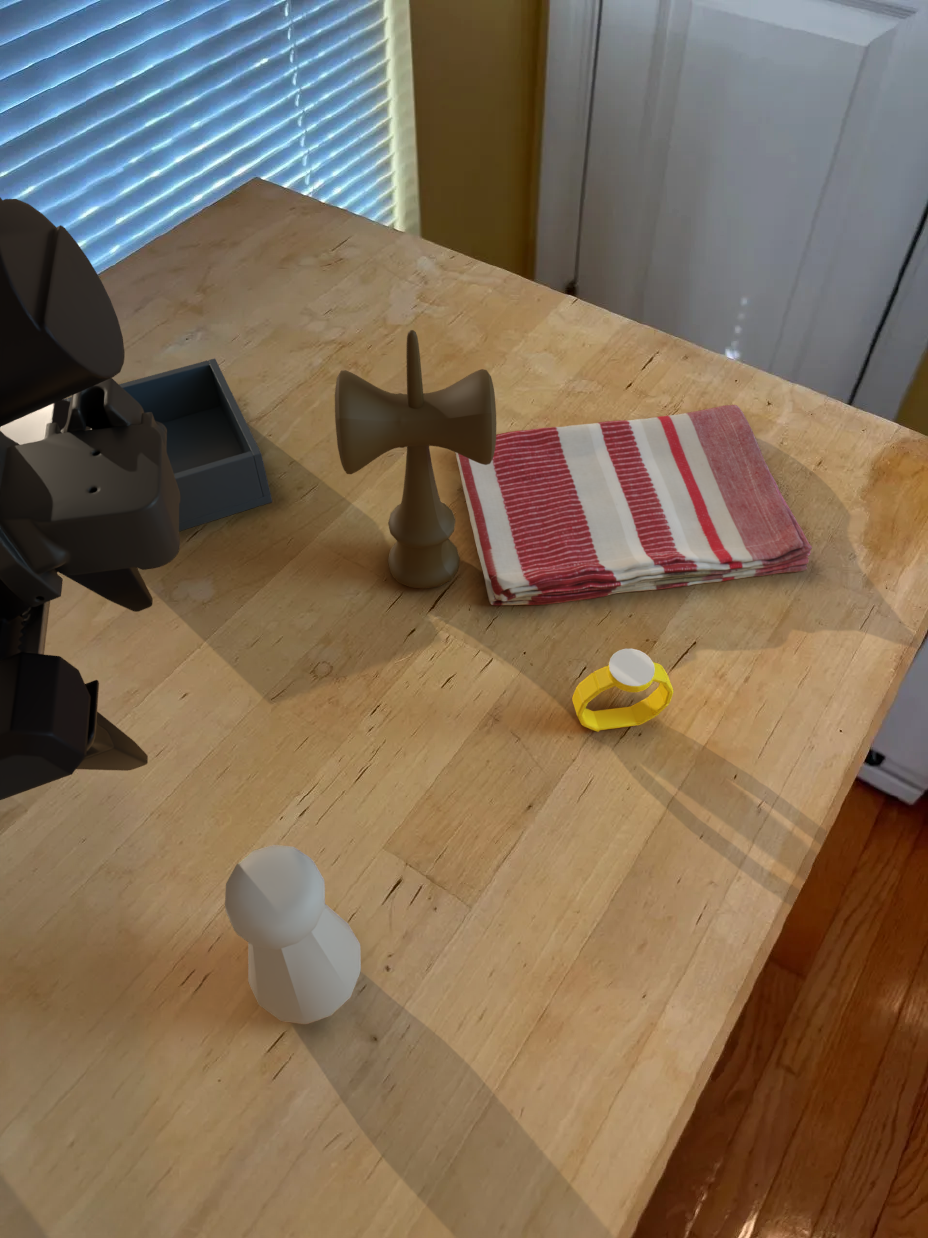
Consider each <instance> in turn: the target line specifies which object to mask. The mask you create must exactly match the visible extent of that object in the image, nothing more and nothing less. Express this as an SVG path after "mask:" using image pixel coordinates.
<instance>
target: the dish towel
mask: <svg viewBox="0 0 928 1238" xmlns="http://www.w3.org/2000/svg"><path fill="white" fill-rule="evenodd" d="M454 453H455V457H456V461H457V465H458V469H459V475H460V480H461V485H462V490H463V494H464V498H465V502H466V503H465V504H466V507H467V510H468V515H469V520H470V525H471V529H472V532H473V538H474V543H475V546H476V550H477V555H478V559H479V562H480V566H481V569H482V574H483V578H484V583H485V587H486V588H485V589H486V593H487V597H488V601H489V604H490V605H492V606H518V605H519V606H520V605H528V606H531V605H536V606H537V605H538V606H539V605H550V604H559V603H567V602H575V601H584V600H591V599H597V598H603V597H607V596H610V595H615V594H619V593H631V592H643V591H644V592H645V591H653V590H654V591H655V590H665V589H672V588H680V587H681V588H682V587H688V586H692V585H700V584H709V583H717V582H718V583H720V582H726V581H732V580H737V579H746V578H751V577H764V576H770V575H775V574H784V573H798V572H804V571H807V569H808V565H807V564H809V562H810V560H809V557H810V555H812V552H811V550H812V549H813V546H812V545H811V544H810V542H809V539H807V536H806V534H805V533H804V531H803V528H802V527H801V526H800V524H799V522H798V521H797V519H796V517H795V515H794V513H793V512H792V510H791V508H790V507H789V505H788V503H787V502H786V500H785V498H784V496H783V494H782V492H781V491H780V489H779V486H778V484H777V482H776V480H775V478H774V476H773V475H772V473H771V471H770V469H769V466H768V464H767V463H766V460H765V458H764V455H763V453H762V450H761V448H760V446H759V444H758V441H757V438H756V436H755V434H754V431H753V429H752V426H751V425H750V423H749V421H748V419H747V417H746V415H745V414H744V412H743V411H742V409H741V408H740V407H739V405H737V404H725V405H720V406H716V407H711V408H705V409H701V410H694V411H690V412H683V413H678V414H670V415H660V416H654V417H649V418H647V417H646V418H636V419H630V420H629V419H627V420H626V419H624V420H623V419H622V420H606V421H599V422H594V423H582V424H571V425H565V426H551V427H540V428H532V429H522V430H521V429H520V430H514V431H506V432H501V433H496V446H495V452H494V456H493V459H492V461H491V463H490V464H487V465H484V464H480V463H478V462H475V461H473V460H471V459H469V458H467V457H465V456H463V455H460V454H458V453H456V452H454Z"/></svg>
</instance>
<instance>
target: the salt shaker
mask: <svg viewBox="0 0 928 1238" xmlns="http://www.w3.org/2000/svg"><path fill="white" fill-rule="evenodd" d="M325 884H326V883H325V878H324V877H323V875H322V873H321V871H320V870H319V868H318V866H317V864H316V862H315V861H314V860H313V858H311V857H310V856H309V855H308V854H306V853H304V852H303V851H301V850H300V849H298V848H296V847H295V846H289V845H281V844H272V845H268V846H264V847H261V848H258V849H255V850H252V851H251V852H250V853H248V854H247V855H246V856H245V857H244V858H243V859H241V860H240V861H239V862H238V863H236V864H235V866H234V868H233V869H232V871H231V873H230V876H228V879H227V881H226V883H225V893H224V894H225V897H224V898H225V900H224V909H225V914H226V916H227V918H228V920H229V922H230V925H231V926H232V929H233V931H234V932H235V933H236V935H237V936H238V937H240V938H242V939H243V940H244V941H246V942H247V946H248V947H247V949H248V950H247V953H248V954H247V955H248V956H247V967H248V968H247V969H248V970H247V971H248V972H247V974H248V975H247V981H248V985H249V986H250V989H251V991H252V993H253V995H254V998H255V1000H256V1002H257V1005H258V1006H260V1007H261V1008H262V1009H264V1010H265V1011H266V1012H268V1013H269V1014H271V1015H272V1016H273V1017H275V1018H276V1019H277V1020H279V1021H280V1022H285V1023H290V1024H291V1023H292V1024H299V1025H309V1024H311V1023H315V1022H317V1021H320V1020H323V1019H326V1018H328V1017H332V1015H333V1014H335V1012H337V1011H338V1010H339V1009H340V1008H341V1007H342V1006H343V1005H344V1004H345V1003H346V1002H348V1000H349V999H350V998H352V995H353V992H354V989H355V987H356V984H357V983H358V980H359V977H360V975H361V971H362V963H361V961H362V959H361V943H360V941H359V940H358V938H357V936H356V935H355V933H354V931H353V929H352V928H351V926H350V924H349V922H347V921H346V920H345V919H344V918H342V917H341V916H340V915H339V914H338V913H337V912H336V911H334V909H332V908H331V907H330V906H329V905H328V904H326V885H325Z"/></svg>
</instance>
